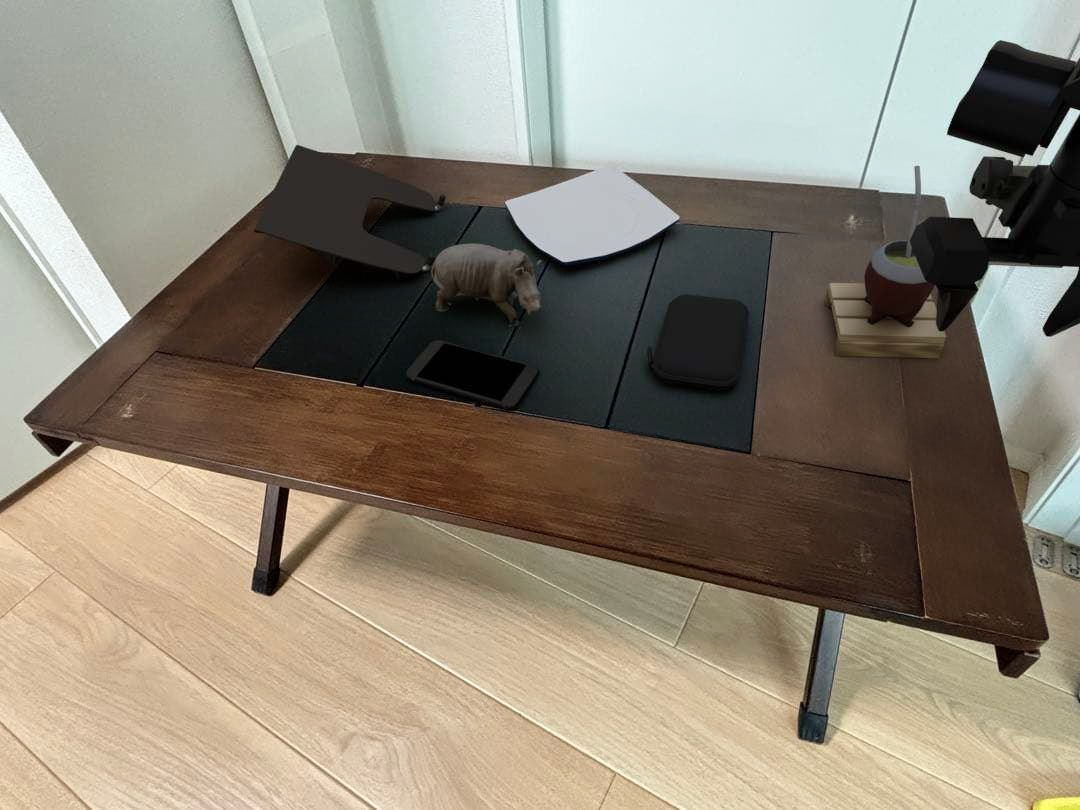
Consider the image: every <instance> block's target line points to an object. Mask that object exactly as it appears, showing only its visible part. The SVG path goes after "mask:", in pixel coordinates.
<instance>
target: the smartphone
mask: <svg viewBox="0 0 1080 810" xmlns="http://www.w3.org/2000/svg"><path fill="white" fill-rule="evenodd" d="M539 375H540V369H539V367H538V366H537V365H535V364H533V363H528V362H524V361H520V360H517V359H513V358H510V357H505V356H502V355H498V354H495V353H491V352H488V351H483V350H481V349H476V348H472V347H468V346H464V345H460V344H456V343H453V342H450V341H445V340H441V339H436V340H433V341H431V342H430V343H429V344H428V345H427V346H426V347H425V348H424V350H423V351H422V352H421V353H420V354H419V355H418V357H417V358H416V359H415V360H414V361H413V362H412V363H411V365H410V366H409V367H408V368H407V370H406V371H405V377H406V379H407V380H408V381H411V382H413V383H417V384H420V385H424V386H426V387H430V388H434V389H437V390H440V391H443V392H447V393H450V394H454V395H457V396H460V397H464V398H467V399H470V400H473V401H477V402H480V403H485V404H488V405H491V406H495V407H498V408H502V409H506V410H513V409H515V408H517V407H518V406H519V404H520V403H521V401H522V400H523V399H524V397H525V396H526V394H527V393H528V391H529V390H530V388H531V387H532V385H533V383H535V381H536V379H537V378H538V376H539Z"/></svg>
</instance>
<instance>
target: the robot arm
mask: <svg viewBox="0 0 1080 810" xmlns="http://www.w3.org/2000/svg"><path fill="white" fill-rule="evenodd" d="M1071 109H1073V110H1077V111H1080V57H1078V59H1077V61H1075V60H1071V59H1068V58H1064V57H1059V56H1056V55H1051V54H1047V53H1042V52H1038V51H1034V50H1030V49H1027V48H1025V47H1023V46H1022V45H1019V44H1017V43H1014V42H1011V41H1007V40H1002V39H999V40H998V41H996V42H995V43H994V44H993V45H992V47H991V48H990V49H989V50H988V52H987V54H986V57H985V59H984V61H983V63H982V65H981V67H980V69H979V70H978V73H977V74H976V75H975V77H974V79H973V81H972V83H971V84H970V87H969V89H968V90H967V91H966V93H965V94H964V95H963V97H962V98H961V99H960V101H959V102H958V104H957V106H956V108H955V111H954V113H953V116H952V117H951V119H950V123H949V125H948V127H947V131H946V136H949V137H953V138H956V139H959V140H963V141H966V142H969V143H973V144H976V145H980V146H983V147H986V148H989V149H994V150H997V151H1000V152H1004V153H1007V154H1010V155H1013V156H1016V157H1019V158H1024V157H1025V155H1027V156H1031V157H1033V156H1034V154H1035V153H1036V151H1037V149H1038V147H1040V148H1044V149H1048V148H1049V146H1050V144H1051V143H1052V142H1053V140H1054V137H1055V136H1056V134H1057V133H1058V130H1059V129H1060V127H1061V125H1062V124H1063V122H1064V120H1065V118H1066V117H1067V115H1068V113H1069V112H1070V110H1071ZM968 188H969V193H970V194H971V195H973V196H974V197H976V198H978V199H979V200H985V202H984V203H985V204H986V205H987V206H994V207H996V208H998V209H999V210H1002V211H1001V212H1000V214H999V215H998V221H999V222H1000V225H1001V226H1002V227H1003V228H1009V230H1010V231H1009V233H1008V235H1007V237H991V236H982V234H981V232H980V230H979V228H978V225H977V224H976V222H975V219H974V218H973V217H953V216H951V217H950V216H928V217H926V218H923V219H922V220H920V222H919V223H917V224H916V227H915V230H914V232H913V234H912V237H911V239H910V241H909V242H910V244H911V247H912V249H913V251H914V254H915V256H916V259H917V261H918V264H919V266H920V269H921V271H922V274H923V276H924V279H925V280H926V281H928V282H930V283H932V284H933V285H935V287H936V289H937V299H936V309H937V313H936V326H937V328H938V331H946V330H947V329H948V328H949V327H950V326H951V325H952V324H953V323H954V322H955V321H956V319H957V318H958V316H959V315H960V314H961V313H962V312H963V310H964V309H965V308H966V307H967V305H968V304H969V303H970V302H971V301H972V299H973V298H975V296H976V294H977V293H978V292H979V288H978V285H977V282H979V281H980V280H983V278H984V276H985V274H986V273H987V271H988V270H989V266H1001V267H1002V266H1003V267H1024V268H1025V267H1026V268H1027V267H1028V268H1050V269H1051V268H1053V269H1062V268H1065V267H1068V268H1069V267H1070V268H1078V269H1077V273H1076V276H1075V278H1074V279H1073V280H1072V282H1071V283H1070V285H1069V286H1068V288H1067V289H1066V290H1065V292H1064V293H1063V295H1062V296H1061V297H1060V299H1059V301H1058V302H1057V303H1056V305H1055V306H1054V308H1053V309H1052V310H1051V312H1050V313H1049V315H1048V317H1047V319H1046V320H1045V323H1044V324H1043V326H1042V331H1043V334H1044V335H1045V337H1050V338H1051V337H1054V336H1055V335H1058V334H1060V333H1062V332H1065V331H1067V330H1069V329H1071V328H1073V327H1076V326H1078V325H1080V113H1079V114H1078V116H1077V117H1076V119H1075V121H1074V122H1073V124H1072V126H1071V128H1070V129H1069V131H1068V133H1067V134H1066V136H1065V138H1064V139H1063V141H1062V143H1061V145H1060V146H1059V148H1058V150H1057V151H1056V153H1055V154H1054V156H1053V158H1052V159H1051V161H1050V163H1049V164H1037V165H1014V160H1012V159H1006V157H1004V156H986V155H985V156H982V158H981V160H980V162H979V163H978V165H977V167H976V168H975V170H974V171H973V174H972V178H971V179H970V184H969V187H968Z"/></svg>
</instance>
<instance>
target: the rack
mask: <svg viewBox="0 0 1080 810" xmlns="http://www.w3.org/2000/svg"><path fill="white" fill-rule="evenodd" d="M866 296H867V295H866V289H865V282H864V283H862V282H861V283H860V282H857V283H855V282H829V284H828V287H827V288H826V293H825V296H824V301H823V302H824V306H825V307H826V308H831V310H832V316H833V320H834V322H835V325H834V326H835V329H836V334H837V336H836V340H835V344H834V347H833V350H834V351H833V352H834V355H835V356H837V357H838V356H840V357H842V356H843V357H869V358H871V357H873V358H902V359H903V358H904V359H907V358H909V359H937V360H938V359H940V357H941V354H942V352H943V349H944V347H945V344H944V343H945V341H946V339H947V334H946V332H945V331H946V330H944V331H938V328H937V326H936V313H937V306H936V303H935V302H934V301H933V296H932V293H931V294H930V296H929V297H928V298H927V300H926V301H925V303H924V305H923V306H922V308H921V310H920V311H919V312H918V314H917V315H916V316H915V317H914V318H913V320H912V321H914V324H913V326H911V327H906V326H905V325H903V324H901V323H900V322H898V321H896V320H895V319H893V318H891V317H886V318H884V319H882V320H880V321H879V322H877V323H875V324H873V325H871V324H869V323H868V322H867V319H868V318H869V317H871V315H872V305H870V304H868V303H867V302H865V297H866Z"/></svg>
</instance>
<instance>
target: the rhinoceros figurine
mask: <svg viewBox="0 0 1080 810" xmlns="http://www.w3.org/2000/svg"><path fill="white" fill-rule="evenodd" d="M542 262H543V260H542V259H541V260H537V262H536V266H537V267H540V265H541V264H542ZM534 266H535V264H534V263H533V262H532V261H531V259H530V258H529V256H528V255H527V254H526V253H525V252H523V251H522V250H519V249H516V248H513V250H505V249H501V248H498V247H496V246H491V245H488V244H483V243H477V242H475V243H463V244H462V243H461V244H455V245H452V246H449V247H447V248H444V249H443V250H441V252H439V253H438V255H437V256H436V257H435V260H434V263H433V265H432V267H431V269H430V275H431V278H432V281H433V282H434V284H435V285H436V286H437V287H438V288H439V290H438V291H437V292H436V297H437V299H436V301H435V308H436V311H437V312H446V311H447V310H449V309H450V306H452V305H451V304H452V303H451V302H448V301H447V300H451V299H454V298H457V297H459V296H461V297H462V296H467V297H471V298H474V301H476V302H479V300H480V299H483V300H488V301H491V302H493V303H495V305H496V307H497V308H498V309H500V310H501V312H503V313H504V314H505V315H506V316H507V317H508V320H509V325H508V328H512V327H516V326H519V324H520V323H521V320H519V321H518V319H517V316H518V314H517V311H516V309H515V308H514V307H513V305H514V302H515V299H517V297H518V301H519V305H520V307H521V308H522V309H525V310H526V311H527V315H528V316H532V315H533V314H534V313H535V312H537V313H538V312H540V310H541V309H542V305H541V303H542V292H540V291H539V288H538V280H537V278H536V275H535V272H534V269H533V268H534Z"/></svg>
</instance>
